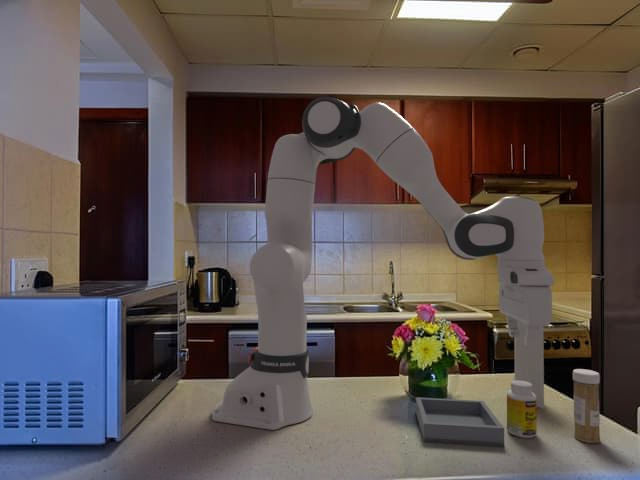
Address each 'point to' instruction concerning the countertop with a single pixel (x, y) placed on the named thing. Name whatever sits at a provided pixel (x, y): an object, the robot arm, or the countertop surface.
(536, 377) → the paper towel roll
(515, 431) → the supplement bottle
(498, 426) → the tray
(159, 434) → the countertop surface
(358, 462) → the countertop surface
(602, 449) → the countertop surface
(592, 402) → the spice jar
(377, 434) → the countertop surface
